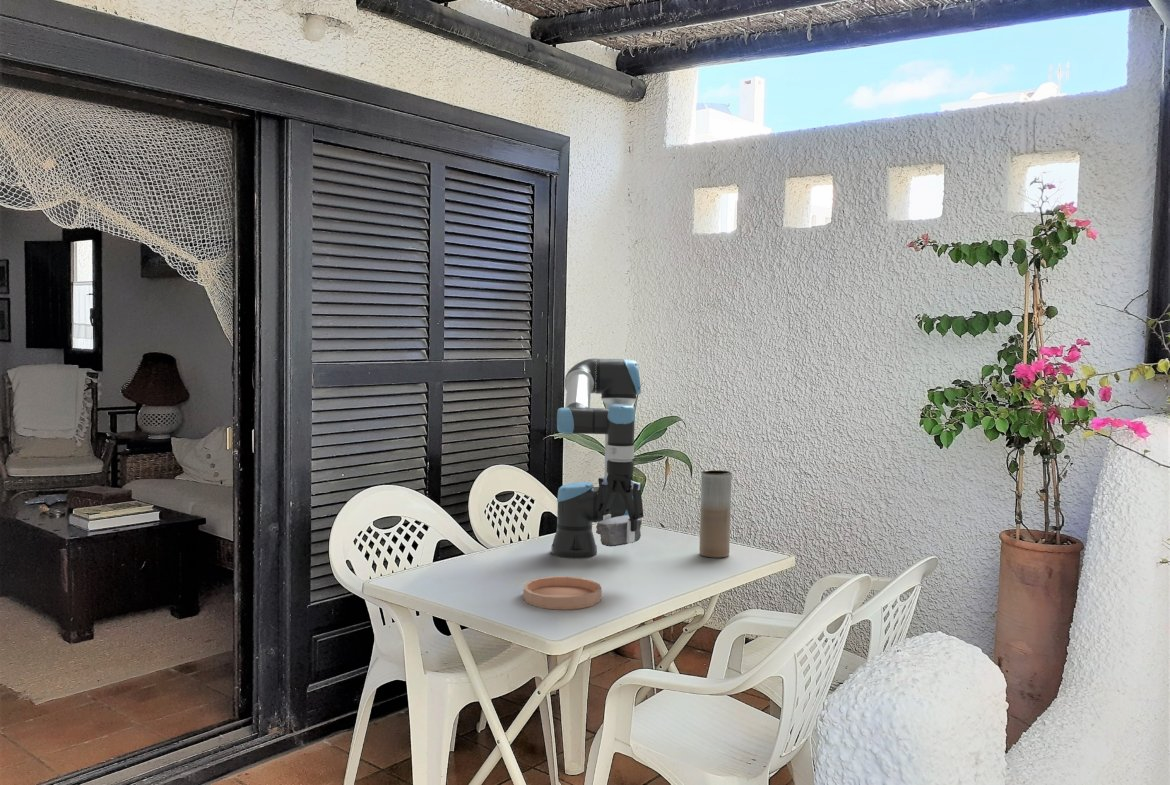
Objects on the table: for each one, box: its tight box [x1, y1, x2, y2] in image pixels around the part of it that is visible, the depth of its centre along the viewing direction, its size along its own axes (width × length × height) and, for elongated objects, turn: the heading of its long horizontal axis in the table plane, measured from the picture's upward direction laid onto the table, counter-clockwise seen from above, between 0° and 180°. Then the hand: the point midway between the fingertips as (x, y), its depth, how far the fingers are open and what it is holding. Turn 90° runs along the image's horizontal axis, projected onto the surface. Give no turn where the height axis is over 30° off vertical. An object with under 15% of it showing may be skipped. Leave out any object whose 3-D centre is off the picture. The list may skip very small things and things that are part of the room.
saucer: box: [522, 576, 603, 611], centre depth 241 cm, size 21×21×3 cm
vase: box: [698, 469, 732, 559], centre depth 294 cm, size 10×10×28 cm
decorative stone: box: [595, 516, 642, 547], centre depth 250 cm, size 15×7×10 cm
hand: (618, 539), depth 250 cm, fingers closed on decorative stone, 8 cm apart
